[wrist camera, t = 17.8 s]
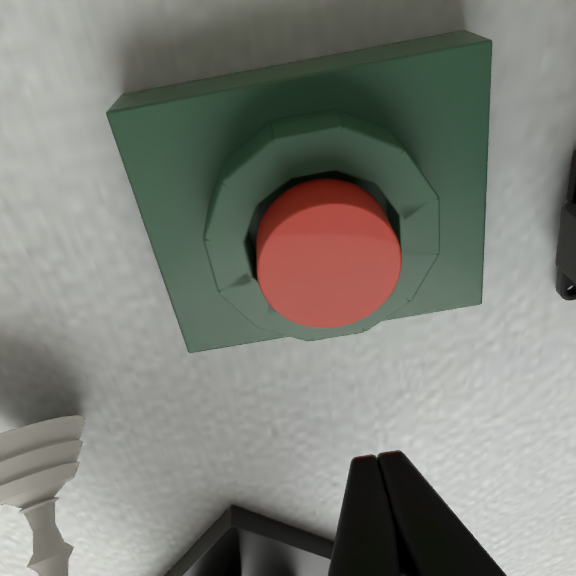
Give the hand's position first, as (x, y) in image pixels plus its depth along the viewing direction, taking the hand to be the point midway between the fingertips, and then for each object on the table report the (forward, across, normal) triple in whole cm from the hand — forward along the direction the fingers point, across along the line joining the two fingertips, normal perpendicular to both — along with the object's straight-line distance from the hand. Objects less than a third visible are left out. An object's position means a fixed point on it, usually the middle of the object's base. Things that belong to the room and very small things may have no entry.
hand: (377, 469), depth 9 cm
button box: (+12, 0, 0) cm, 12 cm away
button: (+8, 0, 0) cm, 8 cm away
